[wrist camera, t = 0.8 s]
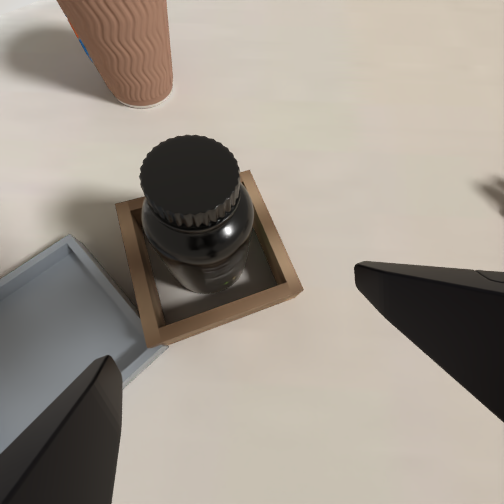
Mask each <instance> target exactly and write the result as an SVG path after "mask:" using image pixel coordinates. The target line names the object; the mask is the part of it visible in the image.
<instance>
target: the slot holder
mask: <svg viewBox="0 0 504 504" xmlns="http://www.w3.org/2000/svg"><path fill="white" fill-rule="evenodd" d="M240 182H241V183H242V184H243V185H244V187H245V188H246V190H247V191H248V193H249V195H250V197H251V200H252V203H253V209H254V221H253V228H254V230H255V233H256V235H257V237H258V240H259V242H260V245H261V247H262V249H263V252H264V254H265V256H266V259H267V261H268V264H269V266H270V268H271V271H272V273H273V276H274V278H275V280H276V283H277V285H278V286H275V287H272V288H269V289H267V290H264V291H261V292H258V293H255V294H253V295H250V296H247V297H244V298H241V299H239V300H236V301H233V302H230V303H228V304H225V305H222V306H219V307H216V308H214V309H211V310H208V311H205V312H202V313H200V314H197V315H194V316H191V317H189V318H186V319H183V320H180V321H177V322H175V323H172V324H169V325H166V323H165V319H164V315H163V311H162V307H161V303H160V299H159V295H158V291H157V287H156V283H155V279H154V275H153V271H152V267H151V263H150V260H149V256H148V252H147V248H146V244H145V240H144V236H143V232H142V228H141V227H143V226H142V219H141V212H142V206H143V202H144V199H145V196H144V197H141V198H137V199H133V200H129V201H125V202H121V203H117V204H115V206H116V211H117V215H118V220H119V224H120V229H121V233H122V238H123V242H124V247H125V251H126V256H127V260H128V265H129V269H130V274H131V278H132V283H133V287H134V292H135V296H136V301H137V305H138V310H139V314H140V319H141V323H142V328H143V332H144V337H145V342H146V346H147V348H153V347H156V346H159V345H161V344H162V345H170V344H173V343H175V342H178V341H181V340H183V339H186V338H189V337H191V336H194V335H196V334H199V333H202V332H204V331H207V330H210V329H212V328H215V327H218V326H220V325H223V324H226V323H228V322H231V321H234V320H236V319H239V318H242V317H244V316H247V315H250V314H252V313H255V312H258V311H260V310H263V309H266V308H268V307H271V306H274V305H276V304H279V303H282V302H284V301H287V300H290V299H292V298H295V297H296V296H297V295H298V294H299V293H301V292H302V291H303V290H304V289H303V287H302V285H301V283H300V280H299V278H298V276H297V274H296V272H295V269H294V267H293V265H292V263H291V260H290V258H289V256H288V254H287V252H286V249H285V247H284V245H283V243H282V241H281V238H280V236H279V234H278V232H277V229H276V227H275V225H274V223H273V221H272V218H271V216H270V214H269V212H268V210H267V207H266V205H265V203H264V201H263V198H262V196H261V194H260V192H259V190H258V187H257V185H256V183H255V181H254V179H253V176H252V174H251V172H250V170H248V171H244V172H240Z"/></svg>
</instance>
